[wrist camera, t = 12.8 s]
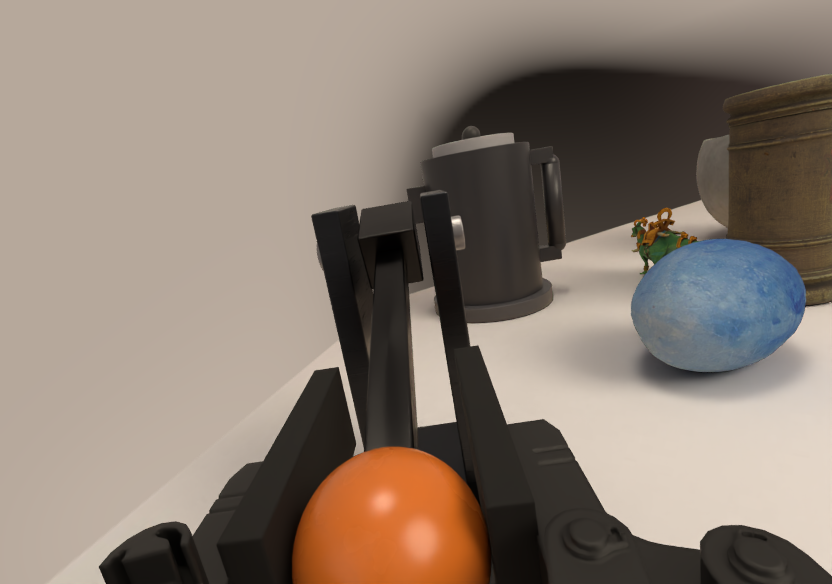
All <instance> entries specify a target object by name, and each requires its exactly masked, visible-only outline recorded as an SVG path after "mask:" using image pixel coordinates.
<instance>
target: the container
mask: <svg viewBox="0 0 832 584" xmlns="http://www.w3.org/2000/svg"><path fill="white" fill-rule="evenodd" d="M723 110H724V111H725V112H726V113H729V114H730V115H731V117H730V118H729V119H728V120H727V123H728V124H729V127H730V133H729V144H728V145H729V146H728V147H727V150H728V152H729V212H728V214H729V218H728V234H727V235H726V239H731V240H740V241H747V242H750V243H753V244H758V245H760V246H763V247H765V248H768V249H770V250H773V251H774V252H776V253H777V254H779V255H780V256H781V257H783V258H784V259H785V260H787V261H788V262H789V263H790V264H792V265H793V266H794V267H795V268H796V269H797V272H798V273H799V275H800V276H801V278H802V280H803V283H804V286H805V289H806V304H805V305H814V304H820V303H826V302H830V301H832V74H828V75H822V76H817V77H812V78H807V79H802V80H797V81H792V82H788V83H783V84H779V85H775V86H771V87H766V88H763V89H758V90H755V91H751V92H748V93H744V94H740V95H737V96H734V97H731V98H728V99H726V100H725V102H724V105H723Z"/></svg>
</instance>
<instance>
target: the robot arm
mask: <svg viewBox="0 0 832 584" xmlns="http://www.w3.org/2000/svg"><path fill="white" fill-rule="evenodd" d="M454 354H455V361H456V367H457V373H458V380H459V386H460V392H461V399H462V405H463V411H464V418H465V424H466V430H467V435H468V440H469V446H470V451H471V456H472V462H473V467H474V472H475V478H476V483H477V488H478V494H479V499H480V504H481V509H482V512H483V515H484V517H485V521H486V525H487V530H488V535H489V541H490V547H491V563H492V568H493V573H494V578H495V584H832V576H831V575H830V574H829V573H828V572H827V571H825V570H824V569H823V568H822V567H821V566H820V565H819V564H818V563H816V562H815V561H814V560H813V559H812V558H811V557H810V556H809V555H807V554H806V553H804V552H803V551H802V550H800V549H799V548H797V547H796V546H794V545H793V544H792V543H790V542H789V541H787V540H785V539H783V538H781V537H778V536H776V535H774V534H771V533H769V532H767V531H765V530H761V529H756V528H752V527H747V526H743V525H728V526H720V527H717V528H715V529H712V530H710V531H708V532H707V533H706V534H705V536H704V537H703V539H702V540H701V541H700V550H698V549H691V548H684V547H676V546H669V545H663V544H658V543H654V542H649V541H646V540H644V539H641V538H639V537H636V536H634V535H632V534H631V532H630V530H629V529H628V527H626V526H625V525H624V524H623V523H621V522H620V521H619V520H618V519H616V518H615V517H613V516H611V515H609V514H607V513H606V511H605V510H604V508H603V506H602V505H601V503H600V501H599V499H598V498H597V496H596V494H595V492H594V490H593V489H592V487H591V485H590V483H589V482H588V480H587V478H586V476H585V475H584V473H583V471H582V469H581V468H580V466H579V464H578V462H577V461H576V460H575V457H574V455H573V453H572V452H571V450H570V448H568V445H567V443H566V441H565V439H564V438H563V436H562V434H561V432H560V430H558V429H557V428H555V427H554V426H553V425H551V424H550V423H548V422H547V421H545V420H544V419H542V420H535V421H528V422H521V423H514V424H506V421H505V418H504V415H503V412H502V410H501V407H500V404H499V401H498V399H497V396H496V393H495V390H494V387H493V385H492V382H491V379H490V376H489V374H488V371H487V368H486V365H485V363H484V360H483V357H482V354H481V351H480V349H479V346H471V347H465V348H458V349H454ZM355 447H356V440H355V436H354V432H353V427H352V423H351V419H350V414H349V410H348V406H347V402H346V397H345V393H344V389H343V384H342V380H341V376H340V371H339V367H335V368H329V369H323V370H316V371H314V373H313V375H312V376H311V378H310V380H309V382H308V383H307V385H306V387H305V389H304V390H303V392H302V394H301V396H300V398H299V399H298V401H297V403H296V405H295V406H294V408H293V410H292V412H291V413H290V415H289V417H288V419H287V420H286V422H285V424H284V426H283V428H282V429H281V431H280V433H279V435H278V436H277V438H276V440H275V442H274V443H273V445H272V447H271V449H270V450H269V452H268V454H267V456H266V457H265V459H264V461H262V462H255V463H249V464H246V465H245V466H244V467H243V468H242V469H240V470H239V471H238V472H237V473H236V474H235V475H234V476H233V477H231V478H230V479H229V481H228V482H227V484H226V485H225V487H224V488H223V490H222V492H221V493H220V495H219V499H216V501H215V502H214V504H213V505H212V507H211V509H210V510H209V514H207V515H206V516H205V518H204V519H203V521H202V522H201V524H200V526H199V527H198V529H197V530H196V532H195V533H194V535H193V536H192V534H191V531H190V530H189V528H188V526H187V525H186V524H183V523H180V522H168V523H161V524H158V525H156V526H153V527H150V528H148V529H145V530H143V531H141V532H140V533H138V534H136V535H134V536H133V537H131V538H129V539H127V540H126V541H125V542H123V543H122V544H121V545H120V546H119V547H117V548H116V549H115V550H114V551H112V552H111V553H110V554H109V555H108V557H107V558H106V559H105V560H104V561H103V562H102V564H101V565H100V566H99V569H100V571H101V573H102V576H103V578H104V580H105V582H106V584H293V581H292V554H293V546H294V541H295V536H296V532H297V529H298V525H299V522H300V520H301V517H302V514H303V512H304V510H305V508H306V506H307V504H308V502H309V500H310V499H311V497H312V495H313V494H314V492H315V491H316V490H317V488H318V487H319V486H320V484H321V483H322V482H323V481H324V480H325V479H326V477H327V476H328V475H329V474H330V473H331V472H333V471H334V470H335V469H336V468H337V467H338V466H340V465H341V464H343V463H344V462H345V461H347V460H349V459H350V458H352V457H353V455H354V451H355Z"/></svg>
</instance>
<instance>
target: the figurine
mask: <svg viewBox="0 0 832 584" xmlns="http://www.w3.org/2000/svg"><path fill="white" fill-rule="evenodd" d="M664 212H668V218H667V219H662V220H661V215H662V214H663V213H664ZM671 215H672V211H671V209H669V208H664V209H662V210H661V211H660V212H659V213H658V215H657V218H658V220H659V221H657V222H655V223H653V222H651V223H648V221H647V219H645V217H643V218H642V219H641V220H636V221H635V222H634V225H635V227H634V228H632V231H633V233H632V235H631V237H636V236H637V241H638V242H637V243H636V244H637V249H635V250H632V251H633V252H638V251H639V253H640V256H641V258H642V259H643V261H644V262H645V266H644V272H643V273H640V274H646V273H647V271H648V269H649V266H648V259H649V260H652V262H653V263H654V265H655V264H656V263H657V262H658V261H659V260H660V259H661V258H663V257H664V256H666V255H667V254H669V253H671V252H672V251H674V250H676V249H678V248H680V247H682V246H685V245H688V244H691V243H694V242H699V241H697V237H694V236H691V237H690V240H689V239H688V238H687V237H688V234H686V232H684V231H682V232H677V231H672V230H670V229H669V228H667V227H668V225H669V224H670V225H673V224H674V222H675V221H673V220H670V217H671ZM664 221H665V222H664ZM636 222H638V223H637V225H636ZM663 222H664V224H663ZM641 223H642V224H643V226H646V223H648V225H649V230H648V231H647V232H646V230H645V229H644V228H643V227H641ZM657 225H658V226H657ZM658 227H659V228H658ZM655 228H656V229H655ZM675 234H681V236H677V235H675Z"/></svg>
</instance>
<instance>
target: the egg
mask: <svg viewBox="0 0 832 584" xmlns="http://www.w3.org/2000/svg"><path fill="white" fill-rule="evenodd" d="M805 304H806V289H805V286H804V283H803V280H802V278H801V276H800V275H799V273H798V272H797V269H796V268H795V267H794V266H793V265H792V264H790V263H789V262H788V261H787V260H785V259H784V258H783V257H781V256H780V255H779V254H777V253H776V252H774V251H773V250H770V249H768V248H765V247H763V246H760V245H758V244H753V243H750V242H747V241H740V240H731V239H710V240H703V241H699V242H694V243H691V244H688V245H685V246H682V247H680V248H678V249H676V250H674V251H672V252H671V253H669V254H667V255H666V256H664V257H663V258H661V259H660V260H659V261H658V262H657V263H656V264H655V265H654V266H653V267H651V269H650V270H649V271H648V272H647V273H646V274H645V275H644V277H643V278H642V280H641V281H640V283H639V284H638V286H637V288H636V290H635V293H634V295H633V298H632V303H631V316H632V319H633V323H634V326H635V328H636V330H637V332H638V334H639V336H640V337H641V340H642V342H643V343H644V345H645V346H646V347H647V348H648V350H649V351H650V352H651V353H652V354H653V355H654V356H655V357H656V358H658V359H660V360H661V361H663V362H665V363H666V364H668V365H671V366H674V367H677V368H680V369H684V370H690V371H697V372H722V371H729V370H735V369H738V368H741V367H744V366H748V365H750V364H753V363H756V362H758V361H760V360H762V359H764V358H766V357H767V356H769V355H770V354H772V353H773V352H774V351H775V350H776V349H777V348H778V347H780V346H781V345H782V344H783V343H784V342H785V341H786V340H787V339H788V338H789V337H790V336H792V335H793V334H794V333H795V331H796V329H797V327H798V326H799V324H800V323H801V320H802V317H803V314H804V311H805Z"/></svg>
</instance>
